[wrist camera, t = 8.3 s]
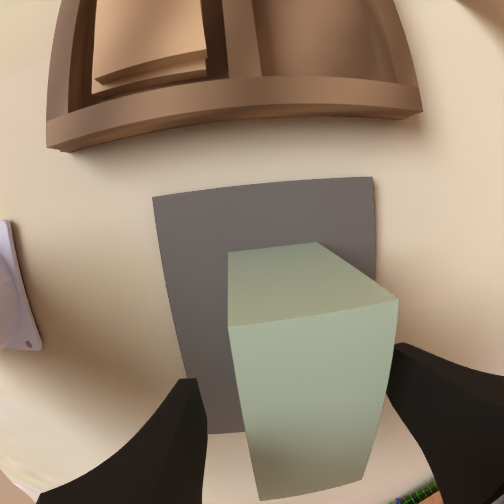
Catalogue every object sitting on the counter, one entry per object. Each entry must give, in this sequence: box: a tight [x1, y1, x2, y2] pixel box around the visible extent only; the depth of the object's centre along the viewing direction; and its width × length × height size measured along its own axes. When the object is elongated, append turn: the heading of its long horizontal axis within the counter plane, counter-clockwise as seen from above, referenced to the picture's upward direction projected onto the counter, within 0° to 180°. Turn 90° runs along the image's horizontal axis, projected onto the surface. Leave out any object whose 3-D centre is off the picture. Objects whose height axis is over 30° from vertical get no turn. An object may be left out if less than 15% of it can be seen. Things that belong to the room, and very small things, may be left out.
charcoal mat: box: [152, 177, 375, 434], centre depth 14 cm, size 10×14×1 cm
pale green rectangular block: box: [228, 242, 399, 501], centre depth 10 cm, size 4×8×7 cm, turn 6°
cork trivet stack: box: [92, 0, 208, 99], centre depth 9 cm, size 5×9×2 cm, turn 6°
